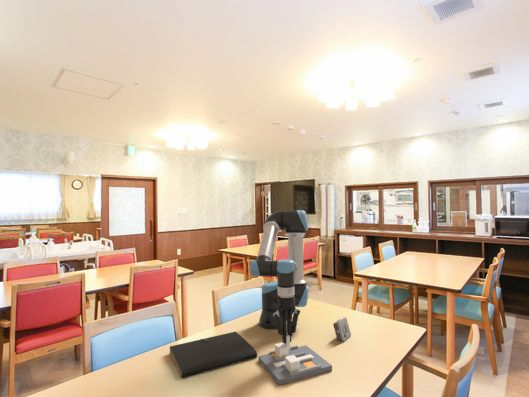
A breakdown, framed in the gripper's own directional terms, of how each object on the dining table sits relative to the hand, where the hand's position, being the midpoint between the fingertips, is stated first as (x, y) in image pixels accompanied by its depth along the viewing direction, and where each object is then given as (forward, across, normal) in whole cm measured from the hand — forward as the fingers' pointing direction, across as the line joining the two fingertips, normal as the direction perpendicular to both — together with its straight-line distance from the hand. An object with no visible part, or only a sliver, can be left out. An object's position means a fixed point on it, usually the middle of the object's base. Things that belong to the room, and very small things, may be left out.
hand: (287, 349), depth 133 cm
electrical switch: (+4, +35, +7) cm, 36 cm away
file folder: (+5, -29, +17) cm, 34 cm away
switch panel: (+4, 0, -6) cm, 7 cm away
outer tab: (+2, -4, -12) cm, 13 cm away
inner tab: (+2, -3, 0) cm, 3 cm away
